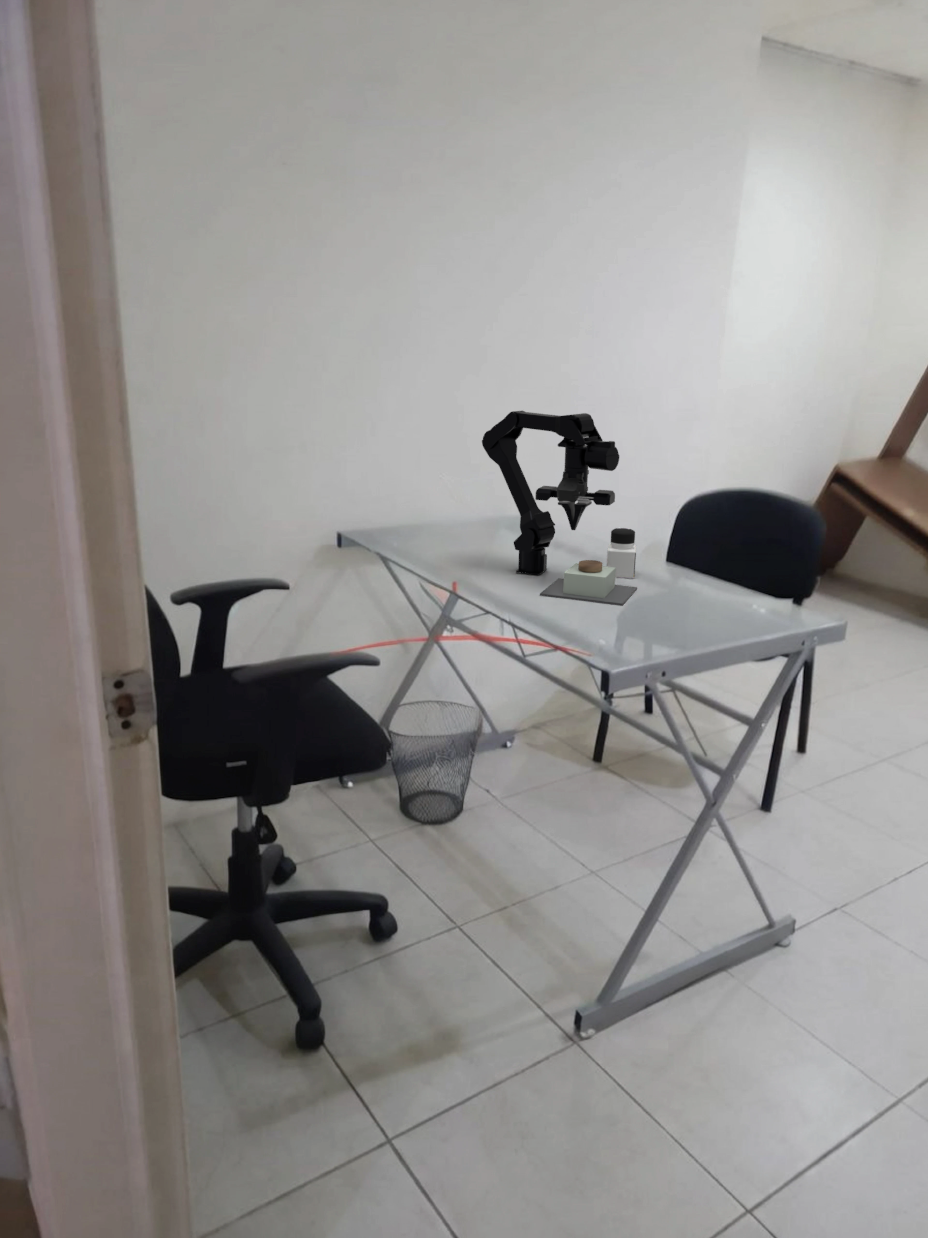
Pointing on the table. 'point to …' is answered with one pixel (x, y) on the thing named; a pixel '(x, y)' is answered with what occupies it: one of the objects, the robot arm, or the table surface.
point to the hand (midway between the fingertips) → (573, 529)
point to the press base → (590, 587)
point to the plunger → (590, 566)
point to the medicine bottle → (622, 552)
